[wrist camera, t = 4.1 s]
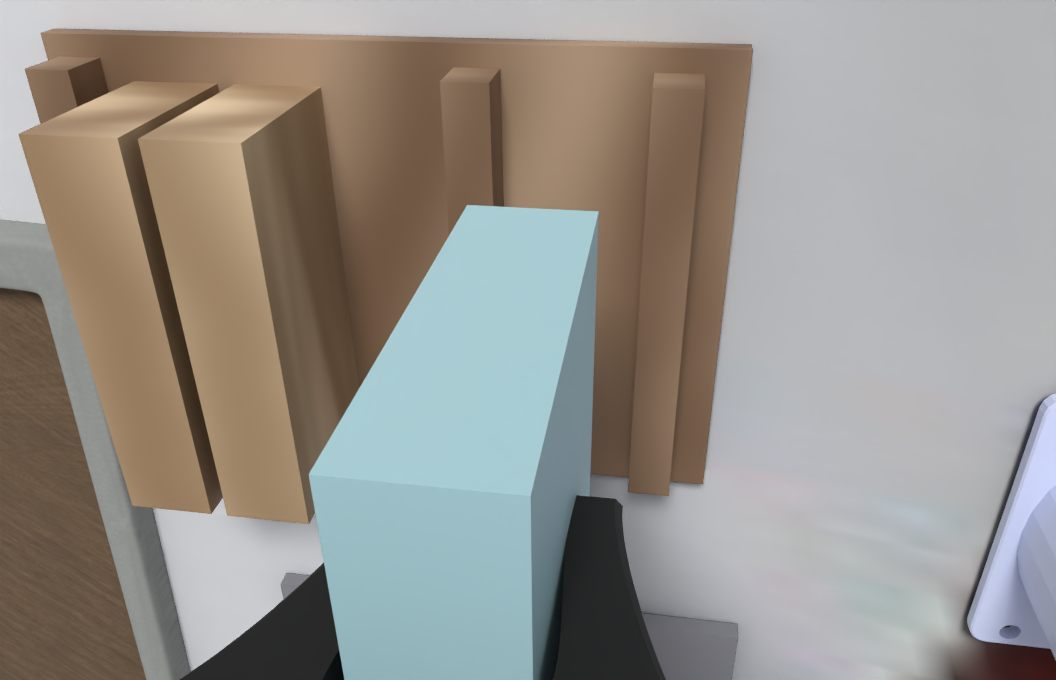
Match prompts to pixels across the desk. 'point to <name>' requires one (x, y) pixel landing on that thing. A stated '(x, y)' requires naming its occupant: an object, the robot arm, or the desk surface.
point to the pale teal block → (467, 458)
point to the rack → (505, 184)
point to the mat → (664, 642)
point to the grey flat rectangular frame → (68, 500)
